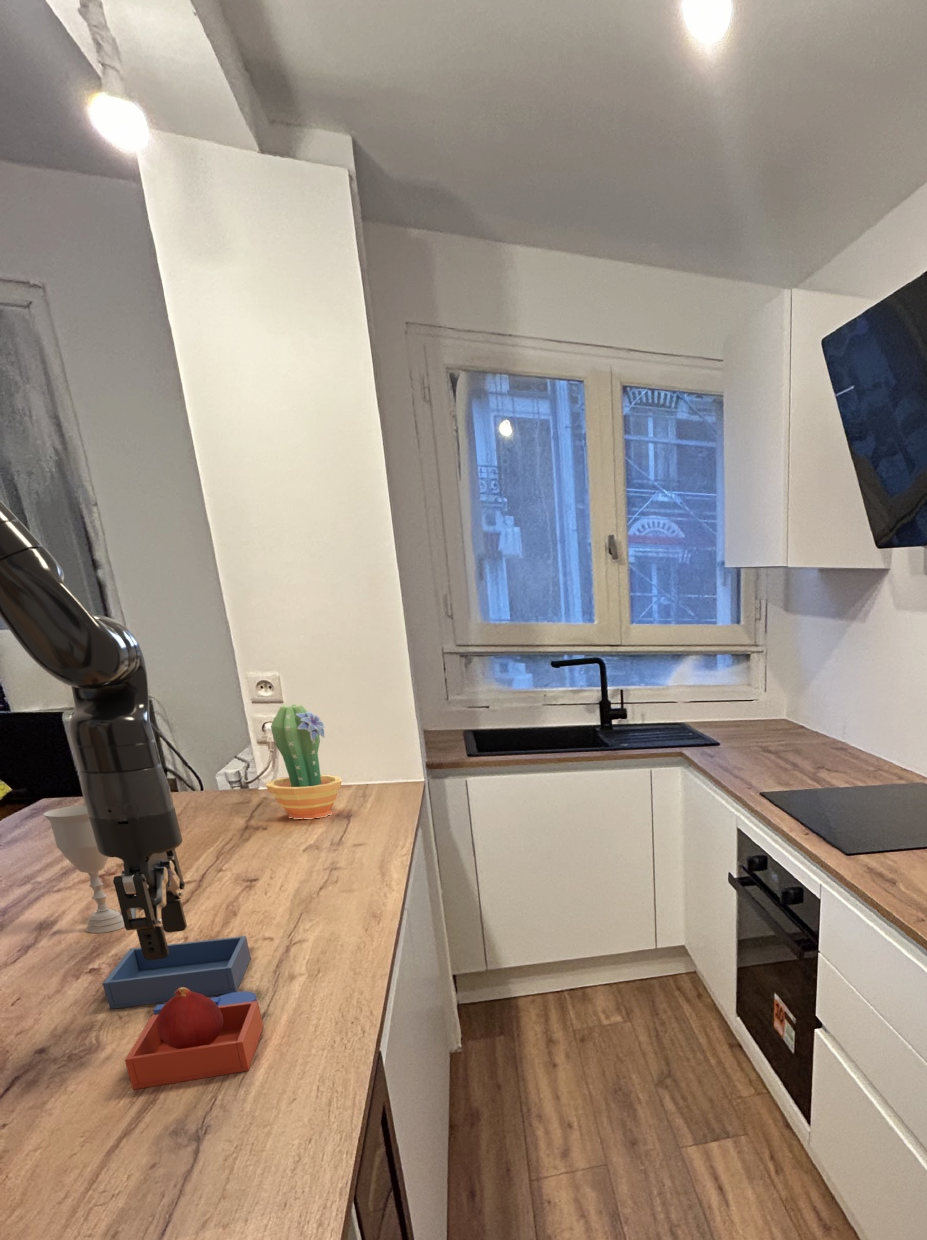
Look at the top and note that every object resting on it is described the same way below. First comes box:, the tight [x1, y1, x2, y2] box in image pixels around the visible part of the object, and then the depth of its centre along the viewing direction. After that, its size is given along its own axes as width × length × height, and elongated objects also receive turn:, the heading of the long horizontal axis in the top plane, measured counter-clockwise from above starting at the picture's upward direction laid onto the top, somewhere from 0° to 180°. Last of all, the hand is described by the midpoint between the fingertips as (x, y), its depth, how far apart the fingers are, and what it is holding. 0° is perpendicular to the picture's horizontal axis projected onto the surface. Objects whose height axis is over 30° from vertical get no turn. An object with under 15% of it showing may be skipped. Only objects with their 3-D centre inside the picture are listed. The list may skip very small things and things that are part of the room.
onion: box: [157, 987, 223, 1049], centre depth 88 cm, size 6×6×8 cm
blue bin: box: [102, 935, 252, 1010], centre depth 105 cm, size 13×11×4 cm
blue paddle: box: [152, 990, 258, 1015], centre depth 98 cm, size 10×5×2 cm, turn 113°
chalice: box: [42, 805, 125, 934], centre depth 120 cm, size 7×7×18 cm
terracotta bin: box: [124, 1000, 264, 1090], centre depth 89 cm, size 10×10×4 cm
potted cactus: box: [265, 704, 342, 819], centre depth 183 cm, size 15×15×25 cm
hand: (167, 944), depth 94 cm, fingers open, 8 cm apart
